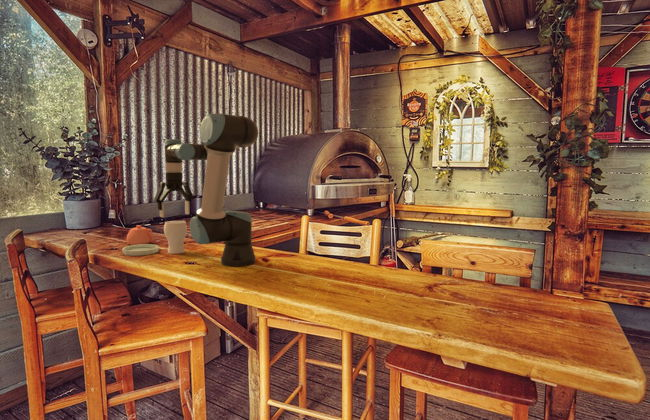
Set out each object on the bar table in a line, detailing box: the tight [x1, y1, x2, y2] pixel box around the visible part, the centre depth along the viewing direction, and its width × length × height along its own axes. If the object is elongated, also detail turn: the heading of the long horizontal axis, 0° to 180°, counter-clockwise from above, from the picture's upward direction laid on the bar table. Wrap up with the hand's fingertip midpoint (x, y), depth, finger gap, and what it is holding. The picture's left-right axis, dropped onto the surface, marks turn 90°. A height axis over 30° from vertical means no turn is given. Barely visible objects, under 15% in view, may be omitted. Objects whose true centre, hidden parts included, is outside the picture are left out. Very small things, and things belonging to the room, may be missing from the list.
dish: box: [121, 243, 160, 257], centre depth 192 cm, size 16×16×2 cm
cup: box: [163, 220, 188, 255], centre depth 192 cm, size 11×11×15 cm
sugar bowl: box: [125, 224, 155, 246], centre depth 209 cm, size 12×14×10 cm
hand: (175, 215), depth 191 cm, fingers open, 13 cm apart
